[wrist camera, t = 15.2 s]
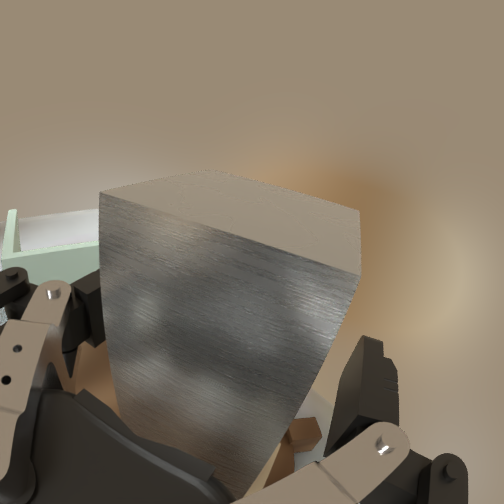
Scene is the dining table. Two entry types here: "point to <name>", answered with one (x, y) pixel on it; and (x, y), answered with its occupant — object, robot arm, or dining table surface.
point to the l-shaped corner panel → (48, 257)
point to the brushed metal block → (221, 310)
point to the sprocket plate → (101, 386)
